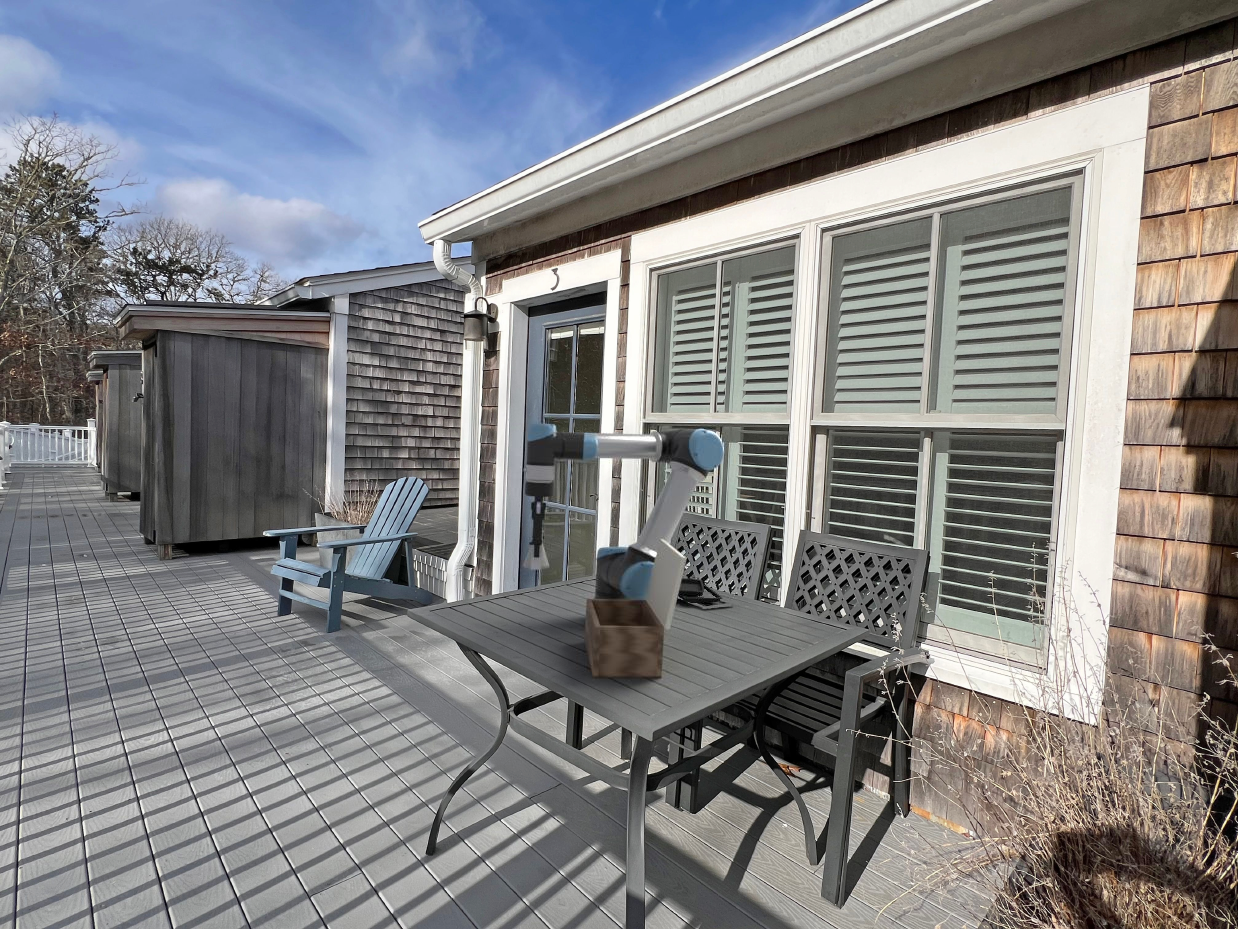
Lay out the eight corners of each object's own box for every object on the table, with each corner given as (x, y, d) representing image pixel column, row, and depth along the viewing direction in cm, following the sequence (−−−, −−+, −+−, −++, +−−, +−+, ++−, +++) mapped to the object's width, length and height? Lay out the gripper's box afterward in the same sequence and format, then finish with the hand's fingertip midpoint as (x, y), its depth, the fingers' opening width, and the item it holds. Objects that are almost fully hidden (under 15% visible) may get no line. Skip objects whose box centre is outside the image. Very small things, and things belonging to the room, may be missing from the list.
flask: (523, 564, 178) (525, 528, 178) (550, 565, 179) (551, 529, 178) (521, 569, 171) (523, 531, 171) (549, 570, 171) (550, 532, 171)
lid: (645, 599, 181) (649, 600, 181) (664, 628, 154) (669, 629, 154) (659, 538, 181) (663, 539, 181) (681, 557, 153) (686, 558, 154)
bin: (643, 642, 181) (645, 600, 180) (661, 677, 155) (664, 628, 154) (584, 642, 179) (586, 598, 178) (592, 677, 153) (595, 627, 152)
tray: (744, 606, 229) (745, 591, 229) (700, 615, 214) (701, 599, 214) (683, 588, 252) (684, 575, 252) (638, 595, 237) (639, 581, 237)
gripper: (526, 478, 183) (522, 558, 184) (524, 483, 163) (520, 573, 164) (552, 479, 184) (549, 559, 185) (554, 484, 164) (550, 574, 165)
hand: (535, 566), depth 175 cm, fingers closed on flask, 7 cm apart
